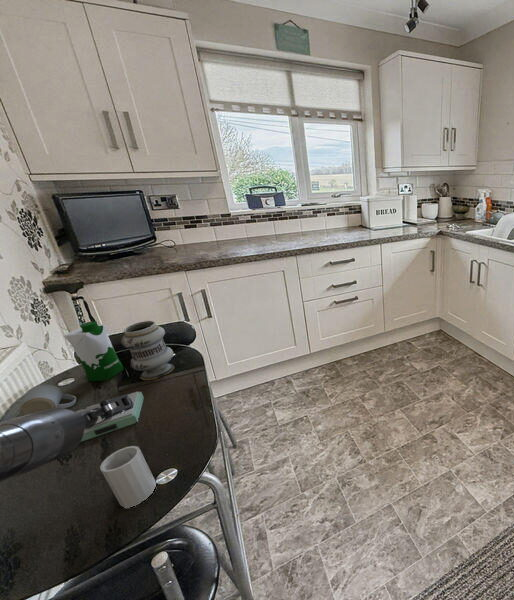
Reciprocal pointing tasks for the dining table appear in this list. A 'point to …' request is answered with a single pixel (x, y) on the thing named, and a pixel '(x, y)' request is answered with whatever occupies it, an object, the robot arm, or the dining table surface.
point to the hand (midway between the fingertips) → (105, 415)
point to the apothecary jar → (148, 349)
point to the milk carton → (95, 351)
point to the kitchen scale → (118, 418)
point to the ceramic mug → (44, 399)
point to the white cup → (128, 476)
